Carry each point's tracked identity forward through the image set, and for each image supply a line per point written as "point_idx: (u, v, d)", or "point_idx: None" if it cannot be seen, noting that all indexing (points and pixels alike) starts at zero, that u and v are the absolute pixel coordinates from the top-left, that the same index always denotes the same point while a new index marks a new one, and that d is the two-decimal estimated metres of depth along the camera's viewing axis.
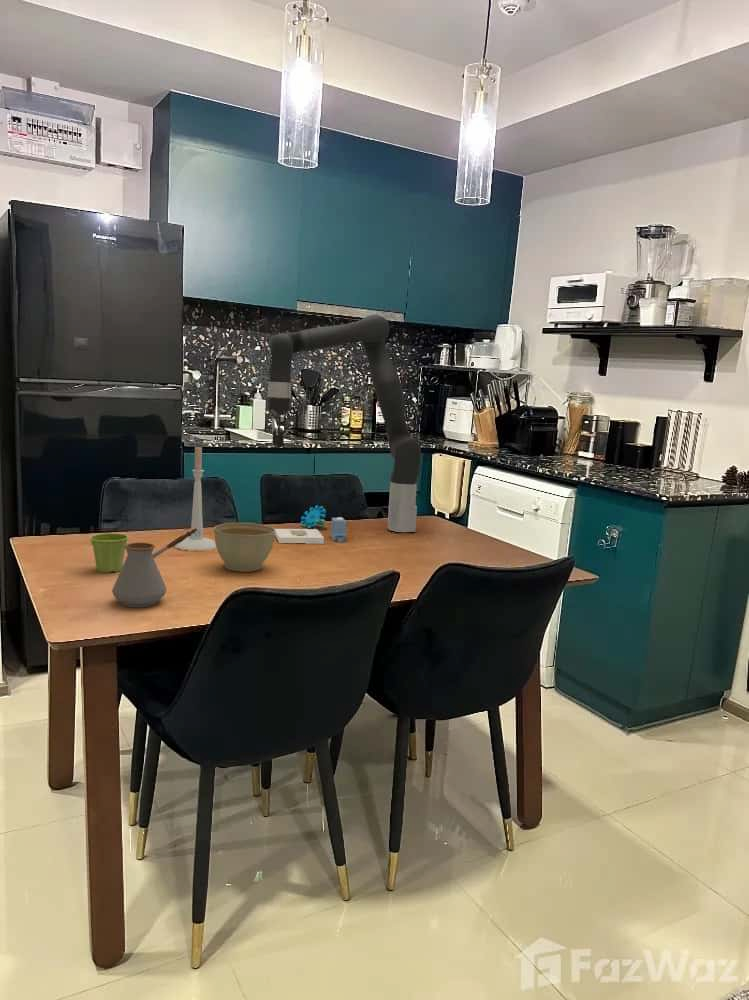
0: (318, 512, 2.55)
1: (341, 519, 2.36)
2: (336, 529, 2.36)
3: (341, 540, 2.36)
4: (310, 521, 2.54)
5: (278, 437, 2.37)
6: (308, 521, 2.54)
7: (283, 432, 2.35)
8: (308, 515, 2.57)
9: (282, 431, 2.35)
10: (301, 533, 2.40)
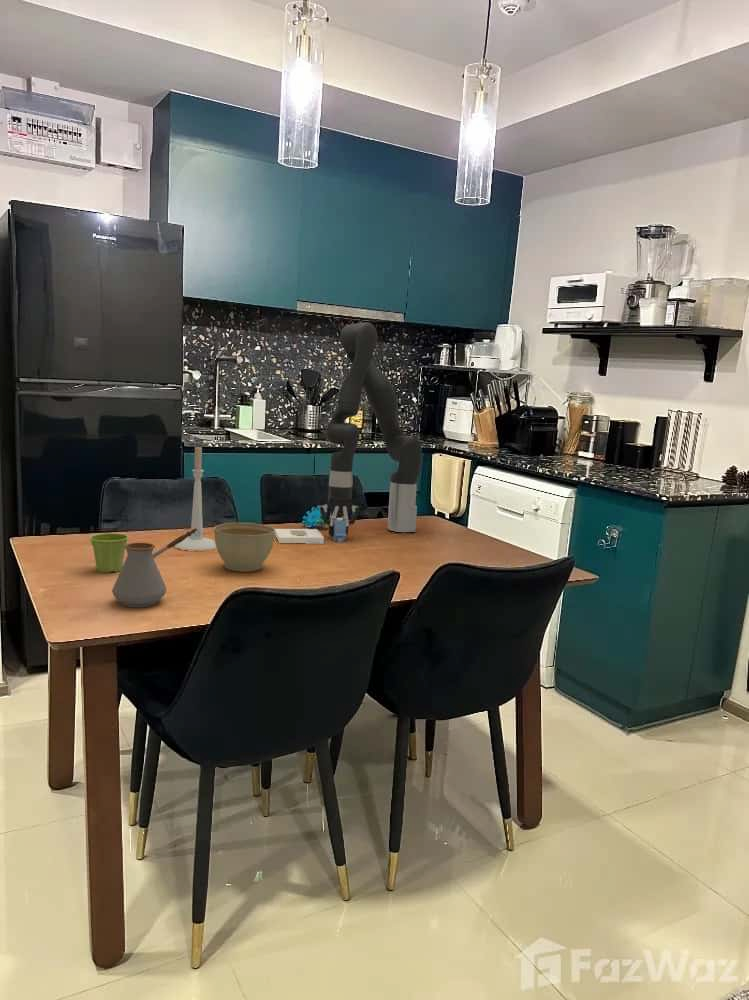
0: (319, 512, 2.55)
1: (341, 519, 2.36)
2: (336, 529, 2.36)
3: (341, 540, 2.36)
4: (311, 521, 2.54)
5: (347, 527, 2.39)
6: (309, 521, 2.55)
7: None
8: (310, 515, 2.57)
9: None
10: (301, 533, 2.40)
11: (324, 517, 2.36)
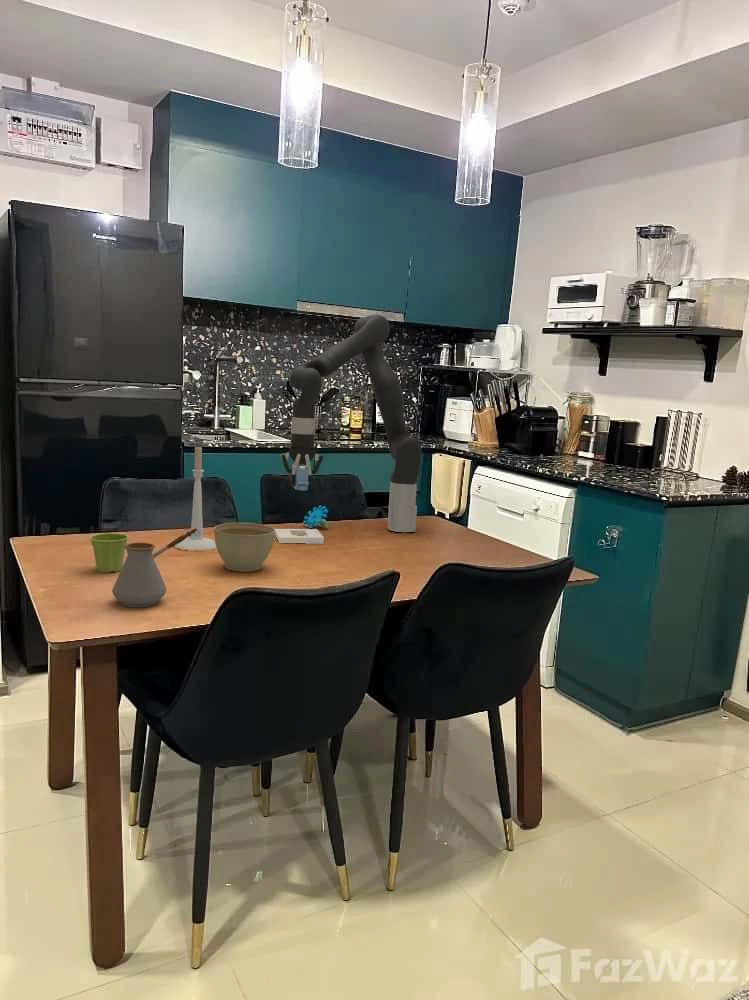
0: (320, 512, 2.55)
1: (303, 467, 2.31)
2: (298, 477, 2.30)
3: (303, 489, 2.30)
4: (312, 521, 2.54)
5: (310, 477, 2.33)
6: (310, 521, 2.55)
7: None
8: (311, 515, 2.57)
9: None
10: (301, 533, 2.40)
11: (286, 465, 2.30)
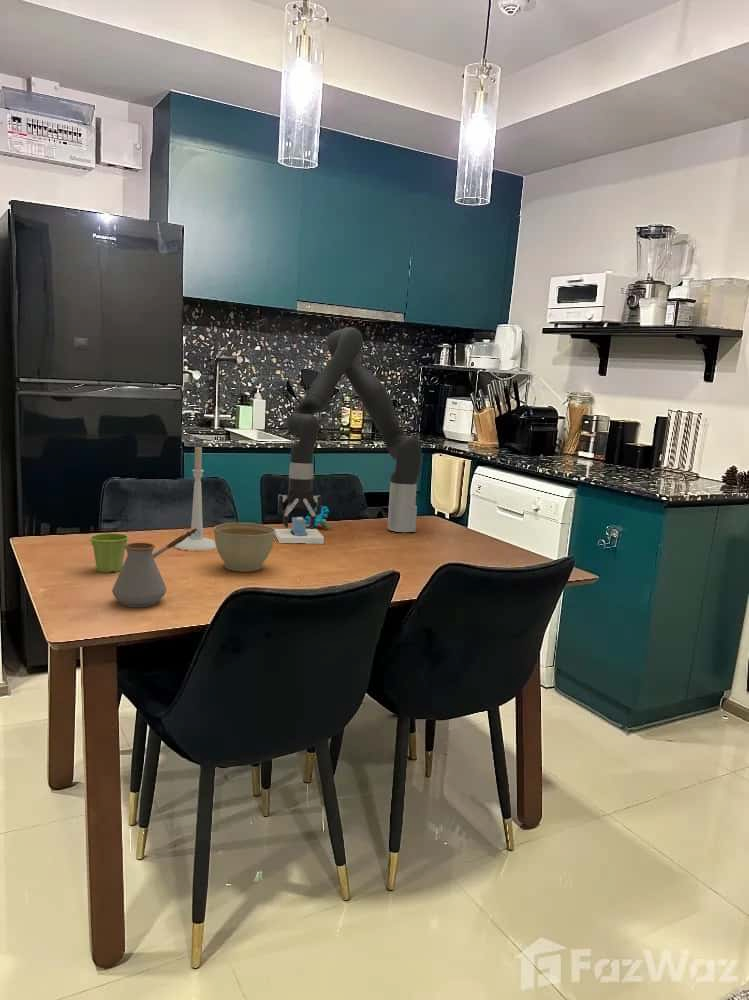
0: (321, 512, 2.55)
1: (301, 519, 2.33)
2: (295, 529, 2.33)
3: None
4: None
5: (314, 518, 2.36)
6: None
7: None
8: None
9: None
10: None
11: (280, 507, 2.32)
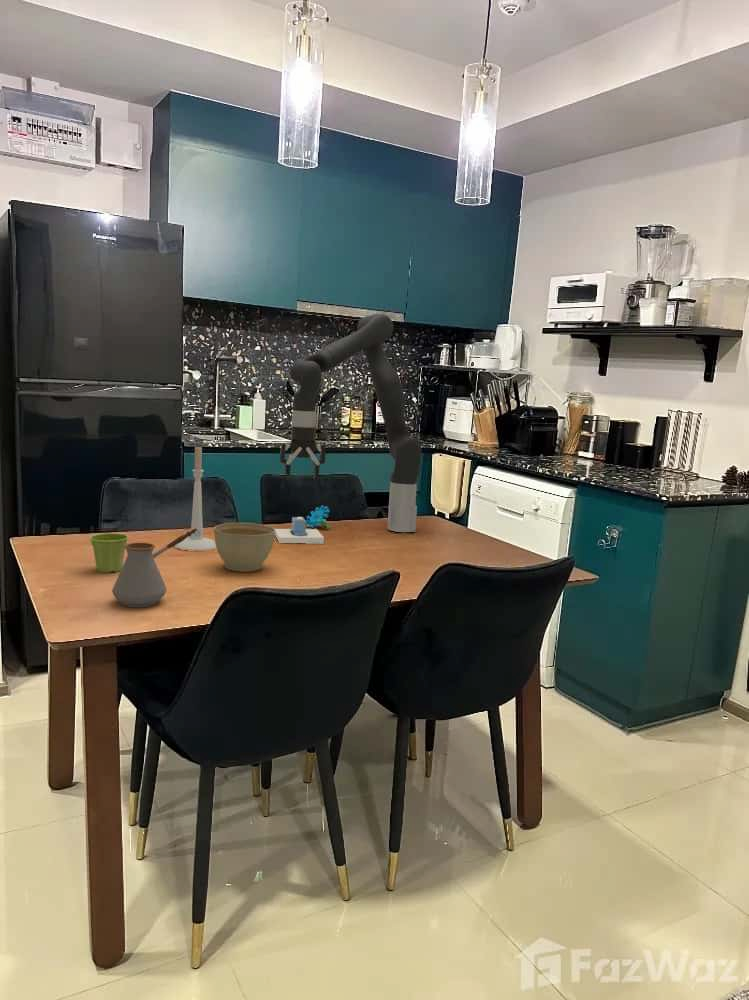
0: (322, 512, 2.55)
1: (301, 519, 2.33)
2: (295, 529, 2.33)
3: None
4: (313, 521, 2.55)
5: (318, 467, 2.34)
6: (311, 521, 2.55)
7: None
8: (313, 515, 2.58)
9: None
10: None
11: (282, 455, 2.30)
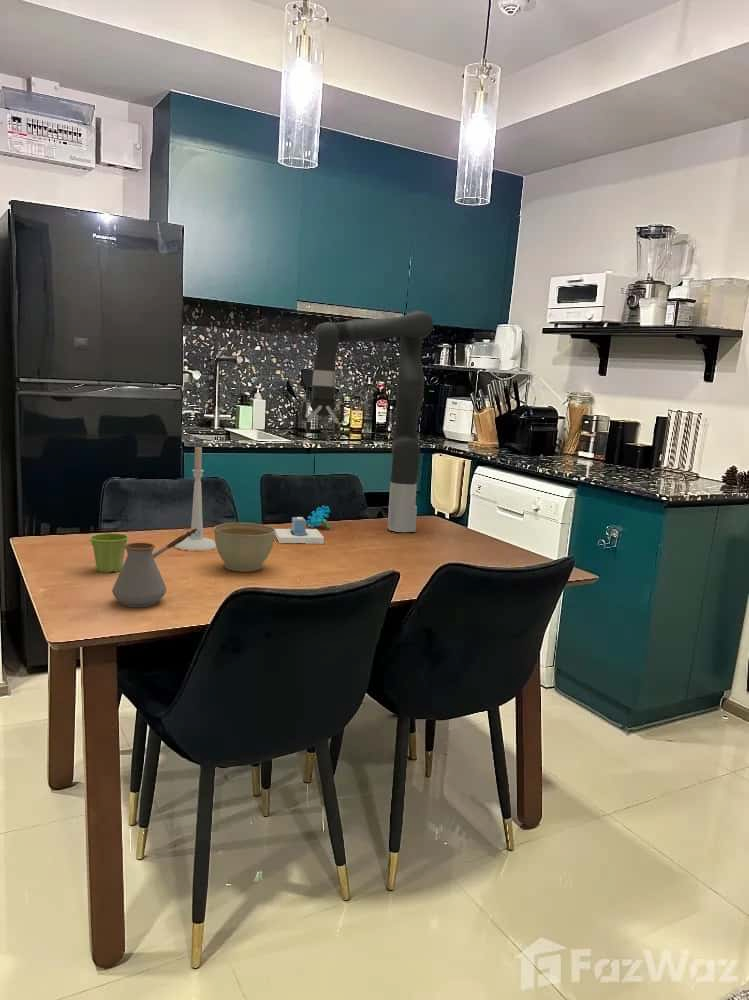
0: (323, 512, 2.55)
1: (301, 519, 2.33)
2: (295, 529, 2.33)
3: None
4: (314, 521, 2.55)
5: (337, 425, 2.44)
6: (312, 521, 2.55)
7: None
8: (314, 515, 2.58)
9: None
10: None
11: (303, 413, 2.40)
